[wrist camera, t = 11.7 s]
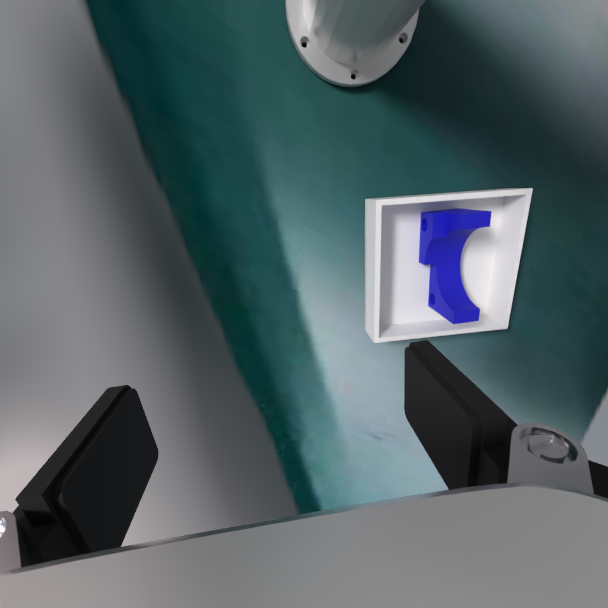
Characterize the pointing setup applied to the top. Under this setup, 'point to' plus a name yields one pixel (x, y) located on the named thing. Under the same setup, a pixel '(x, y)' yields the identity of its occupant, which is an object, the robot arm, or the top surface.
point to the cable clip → (449, 259)
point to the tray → (415, 276)
